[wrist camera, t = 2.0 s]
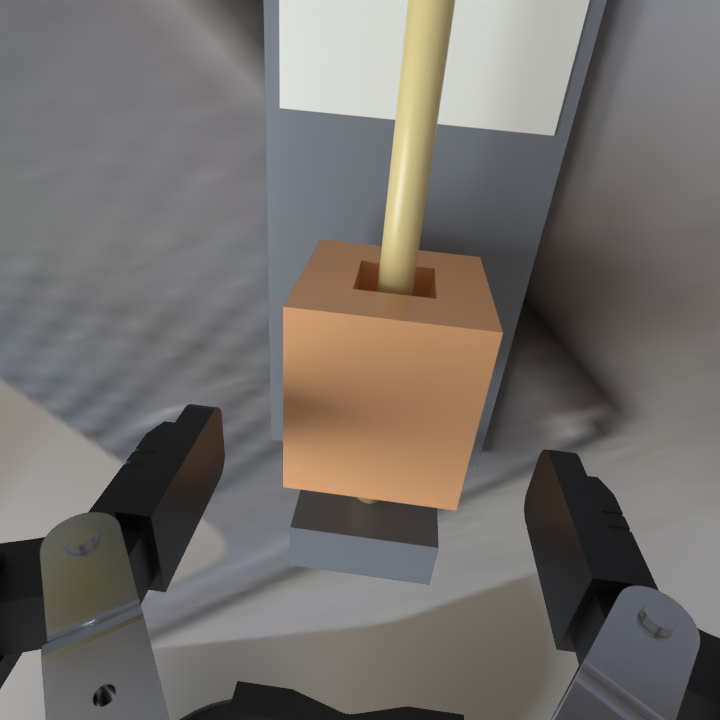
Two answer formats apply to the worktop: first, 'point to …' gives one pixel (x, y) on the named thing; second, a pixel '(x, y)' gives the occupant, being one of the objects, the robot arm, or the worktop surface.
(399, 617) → the worktop surface
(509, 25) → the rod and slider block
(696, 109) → the worktop surface
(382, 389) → the sleeve
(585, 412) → the worktop surface
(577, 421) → the worktop surface
